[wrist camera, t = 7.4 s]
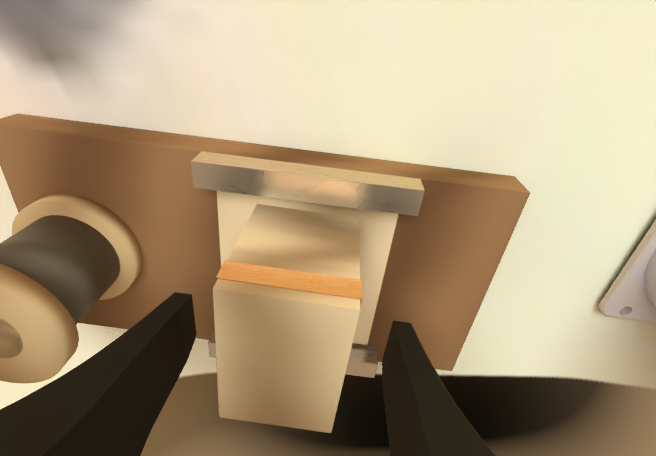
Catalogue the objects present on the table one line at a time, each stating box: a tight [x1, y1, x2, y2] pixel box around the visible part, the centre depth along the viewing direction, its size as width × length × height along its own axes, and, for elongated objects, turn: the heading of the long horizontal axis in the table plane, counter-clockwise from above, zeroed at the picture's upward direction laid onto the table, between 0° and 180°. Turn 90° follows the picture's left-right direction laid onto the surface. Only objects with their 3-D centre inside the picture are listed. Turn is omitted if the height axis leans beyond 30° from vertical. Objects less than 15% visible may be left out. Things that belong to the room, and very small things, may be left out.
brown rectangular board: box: [0, 114, 530, 378], centre depth 16 cm, size 20×10×2 cm, turn 84°
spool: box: [0, 193, 143, 383], centre depth 14 cm, size 5×5×5 cm
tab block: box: [213, 204, 362, 433], centre depth 13 cm, size 4×6×5 cm
